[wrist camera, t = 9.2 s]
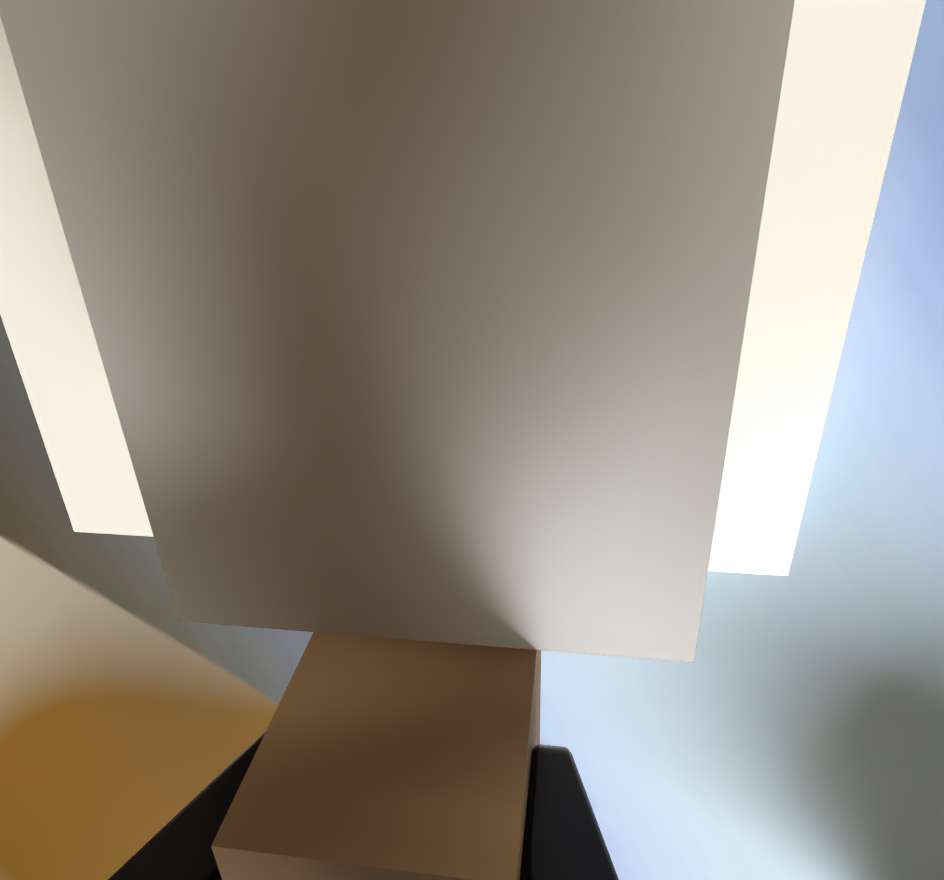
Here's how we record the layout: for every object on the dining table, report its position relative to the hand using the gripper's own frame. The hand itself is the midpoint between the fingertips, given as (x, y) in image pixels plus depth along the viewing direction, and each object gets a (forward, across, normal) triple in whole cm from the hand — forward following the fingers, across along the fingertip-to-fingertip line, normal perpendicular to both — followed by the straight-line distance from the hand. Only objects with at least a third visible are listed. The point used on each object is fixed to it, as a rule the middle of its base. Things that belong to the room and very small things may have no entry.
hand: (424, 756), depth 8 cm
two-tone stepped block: (+2, 0, -1) cm, 2 cm away
